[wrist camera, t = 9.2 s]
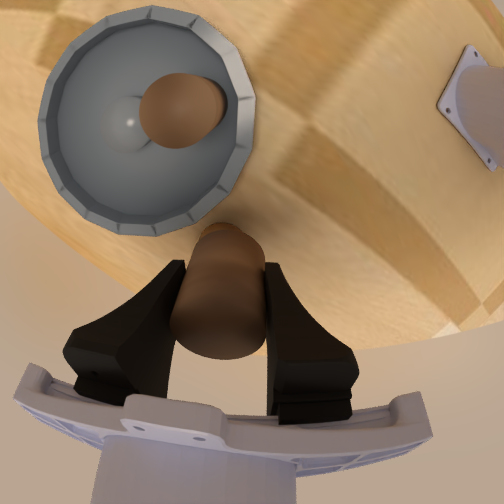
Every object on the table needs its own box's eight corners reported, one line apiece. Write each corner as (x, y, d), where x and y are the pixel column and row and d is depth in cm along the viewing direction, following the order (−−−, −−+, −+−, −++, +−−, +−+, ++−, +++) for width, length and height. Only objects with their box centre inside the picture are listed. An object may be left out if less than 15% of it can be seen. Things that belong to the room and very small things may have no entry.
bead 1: (227, 75, 15) (215, 69, 10) (228, 132, 17) (216, 147, 13) (168, 79, 15) (137, 78, 10) (170, 134, 17) (142, 151, 13)
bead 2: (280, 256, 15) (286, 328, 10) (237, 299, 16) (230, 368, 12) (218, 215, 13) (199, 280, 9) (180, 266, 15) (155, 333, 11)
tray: (298, 60, 14) (303, 56, 12) (200, 250, 23) (195, 267, 21) (93, 4, 11) (77, -1, 9) (44, 183, 19) (30, 192, 17)
